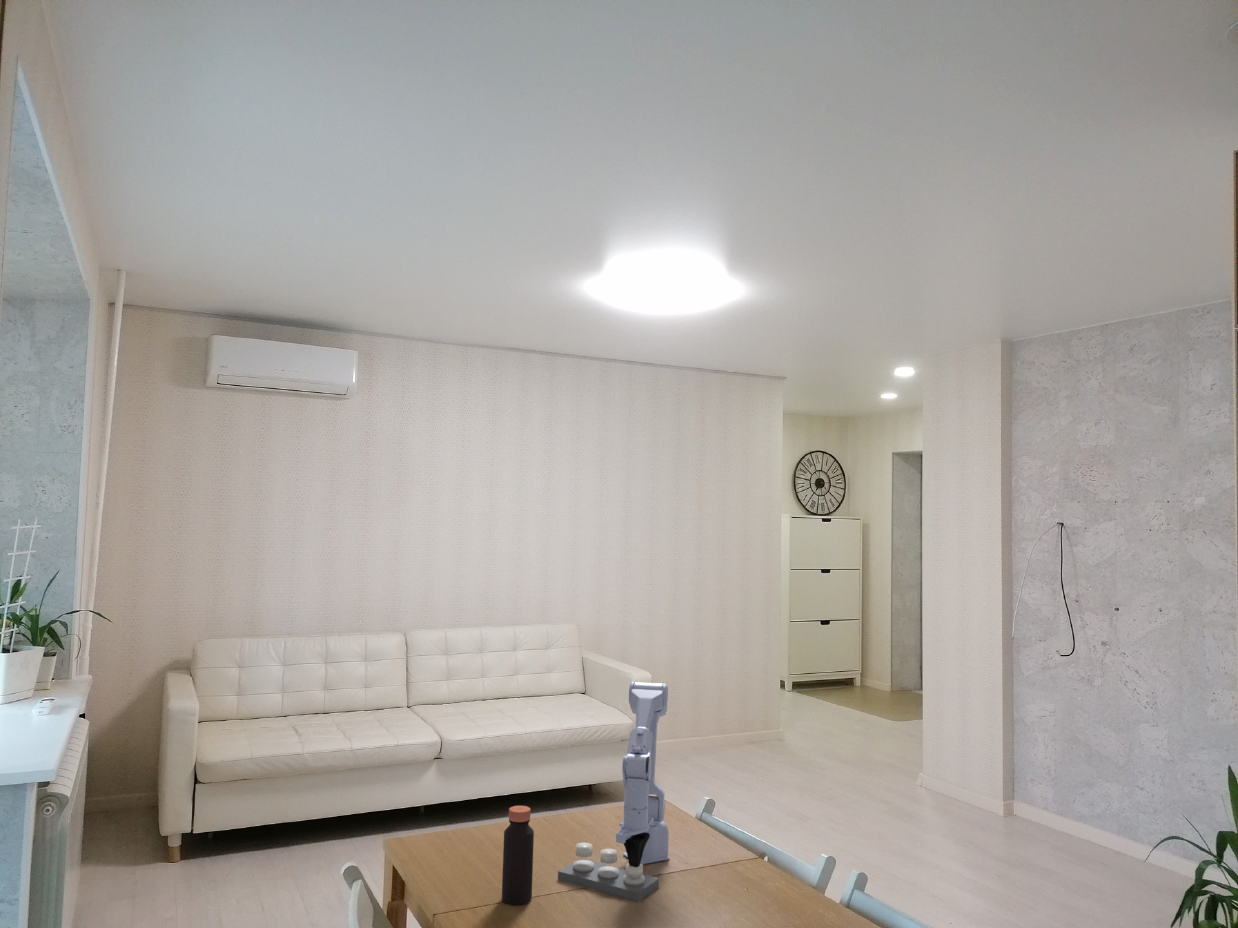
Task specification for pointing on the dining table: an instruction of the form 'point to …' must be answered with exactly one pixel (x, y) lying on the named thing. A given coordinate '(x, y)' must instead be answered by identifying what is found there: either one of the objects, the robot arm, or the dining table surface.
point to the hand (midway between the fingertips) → (634, 865)
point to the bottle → (518, 858)
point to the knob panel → (608, 879)
